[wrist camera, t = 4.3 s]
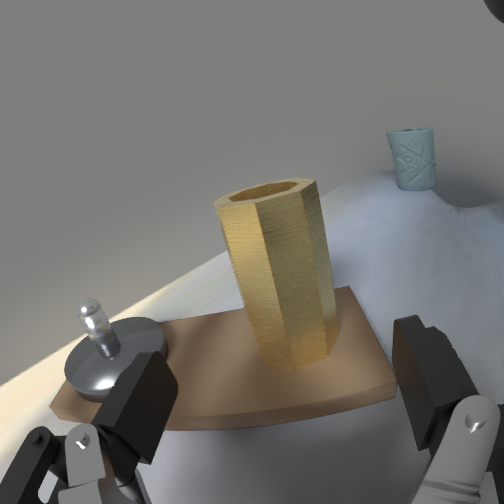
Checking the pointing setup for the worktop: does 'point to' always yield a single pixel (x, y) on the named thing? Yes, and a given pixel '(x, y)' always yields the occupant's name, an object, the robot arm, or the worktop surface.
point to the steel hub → (108, 349)
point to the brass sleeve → (282, 269)
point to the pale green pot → (413, 158)
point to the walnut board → (258, 374)
